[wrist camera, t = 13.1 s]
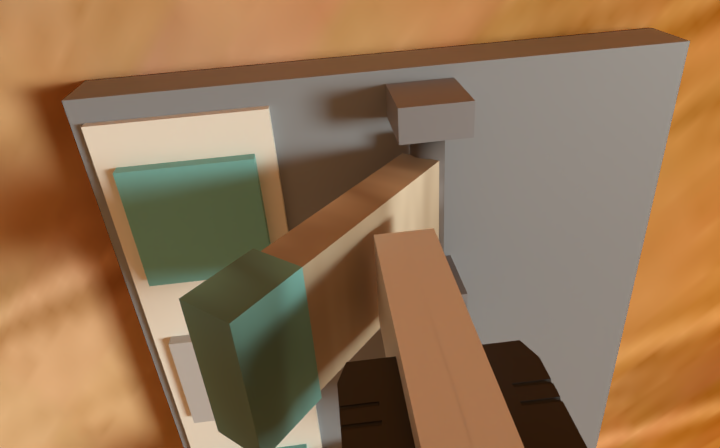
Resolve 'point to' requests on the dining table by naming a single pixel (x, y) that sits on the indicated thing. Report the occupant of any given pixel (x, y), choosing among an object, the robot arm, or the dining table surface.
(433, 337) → the robot arm
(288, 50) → the dining table surface
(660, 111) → the switch board
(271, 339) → the lever
